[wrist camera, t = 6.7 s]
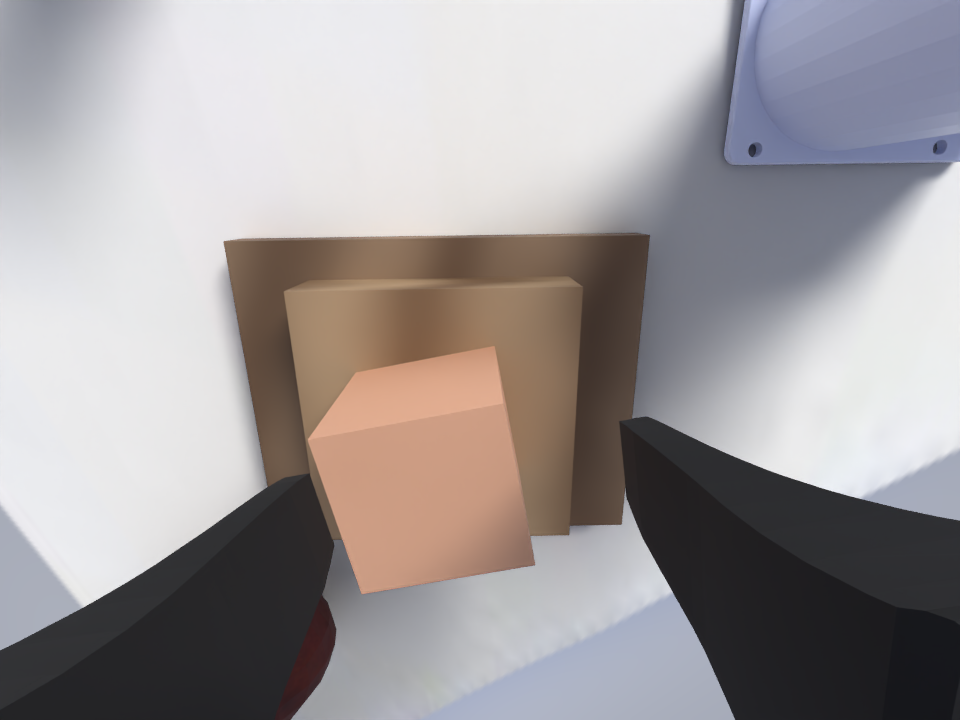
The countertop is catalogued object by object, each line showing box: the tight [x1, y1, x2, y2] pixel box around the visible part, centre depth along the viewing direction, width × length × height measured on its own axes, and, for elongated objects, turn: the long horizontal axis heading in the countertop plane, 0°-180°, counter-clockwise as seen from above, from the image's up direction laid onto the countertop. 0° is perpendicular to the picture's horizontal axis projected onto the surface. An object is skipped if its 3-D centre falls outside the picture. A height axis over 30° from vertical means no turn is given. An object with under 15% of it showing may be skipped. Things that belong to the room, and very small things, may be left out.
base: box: [224, 233, 650, 540], centre depth 19 cm, size 16×13×4 cm
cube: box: [308, 346, 535, 594], centre depth 15 cm, size 5×5×5 cm
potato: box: [275, 595, 336, 720], centre depth 21 cm, size 7×8×7 cm
